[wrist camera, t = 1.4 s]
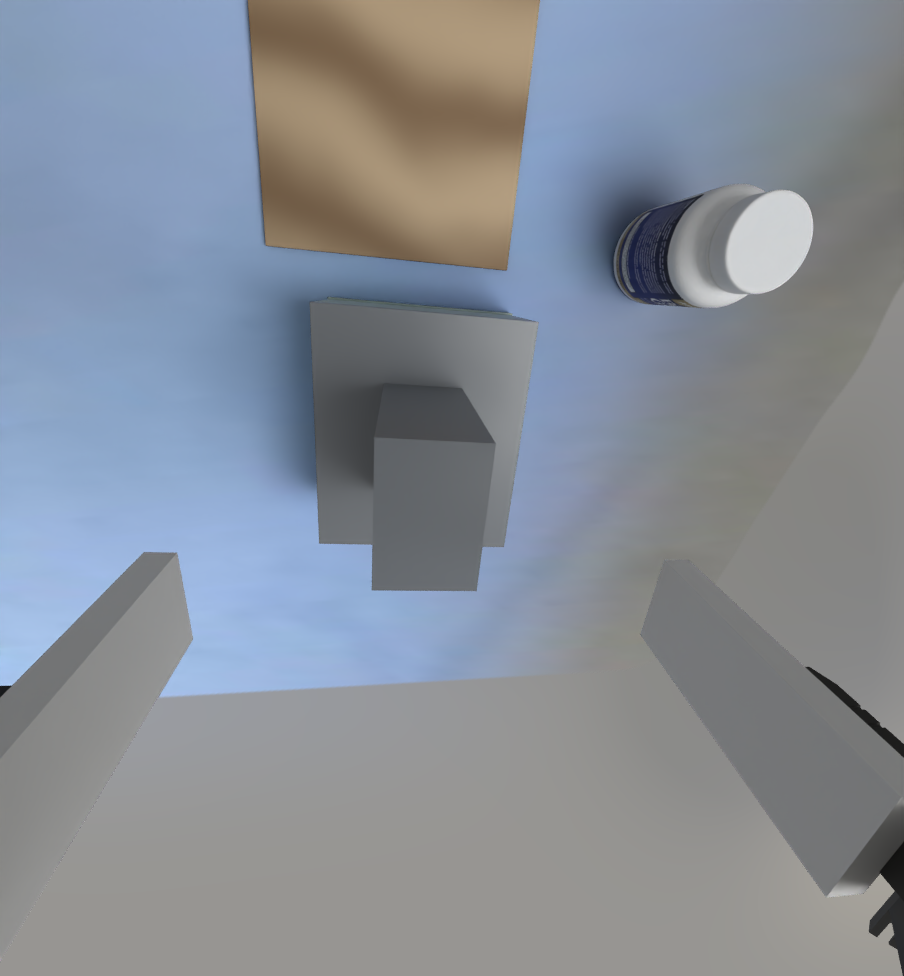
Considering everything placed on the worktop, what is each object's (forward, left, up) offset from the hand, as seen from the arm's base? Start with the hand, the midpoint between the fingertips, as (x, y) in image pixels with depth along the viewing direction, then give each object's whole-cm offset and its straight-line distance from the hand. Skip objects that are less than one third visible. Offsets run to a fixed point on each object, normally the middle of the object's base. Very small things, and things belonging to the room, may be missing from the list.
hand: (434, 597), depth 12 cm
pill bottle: (-11, +14, -20) cm, 27 cm away
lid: (0, 0, -14) cm, 14 cm away
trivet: (-17, -2, -20) cm, 26 cm away
